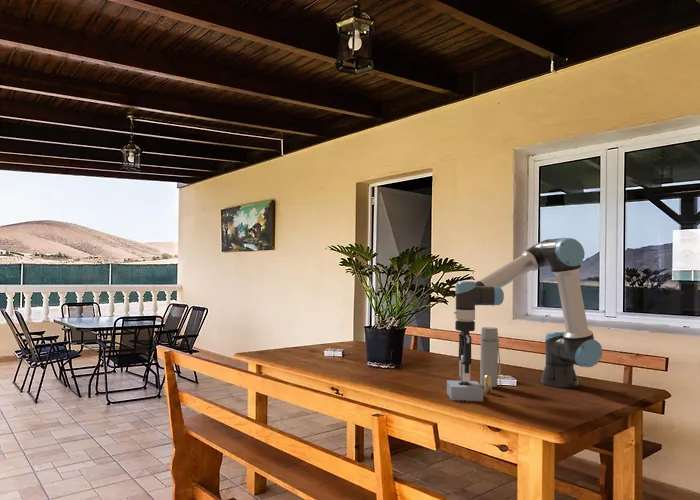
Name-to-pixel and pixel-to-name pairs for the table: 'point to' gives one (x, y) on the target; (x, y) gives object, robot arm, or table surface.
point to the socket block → (464, 391)
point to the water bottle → (489, 355)
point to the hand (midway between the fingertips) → (464, 379)
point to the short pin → (488, 384)
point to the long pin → (462, 372)
